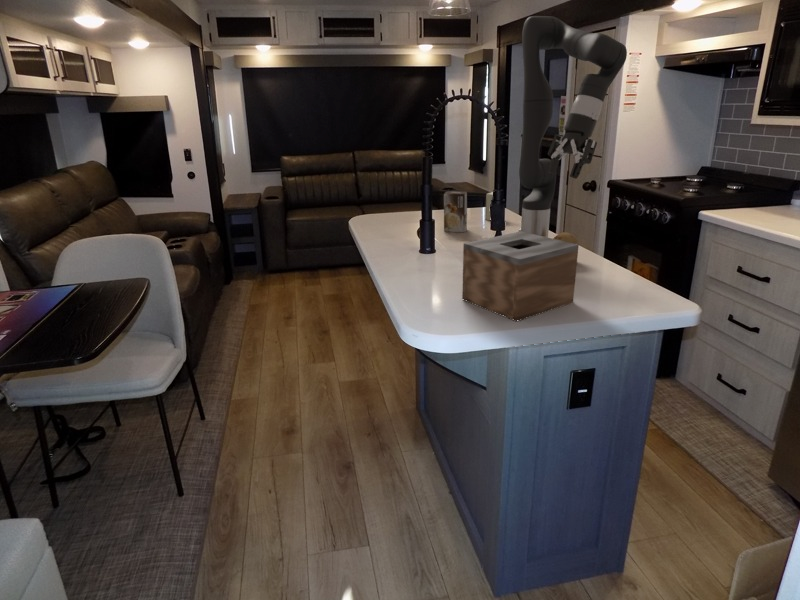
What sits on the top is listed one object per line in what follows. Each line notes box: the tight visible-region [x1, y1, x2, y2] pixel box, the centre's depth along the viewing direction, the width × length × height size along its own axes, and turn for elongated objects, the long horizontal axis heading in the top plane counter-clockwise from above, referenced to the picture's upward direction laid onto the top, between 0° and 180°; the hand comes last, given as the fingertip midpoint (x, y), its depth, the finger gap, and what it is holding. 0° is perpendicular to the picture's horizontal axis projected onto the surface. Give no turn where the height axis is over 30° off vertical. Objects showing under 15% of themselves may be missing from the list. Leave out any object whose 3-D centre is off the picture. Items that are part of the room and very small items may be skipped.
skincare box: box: [484, 191, 494, 221], centre depth 247 cm, size 6×4×12 cm
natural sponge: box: [552, 232, 579, 245], centre depth 181 cm, size 9×9×10 cm
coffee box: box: [443, 191, 468, 233], centre depth 226 cm, size 9×6×16 cm
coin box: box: [461, 231, 580, 322], centre depth 144 cm, size 20×22×16 cm
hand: (562, 175), depth 148 cm, fingers open, 8 cm apart
